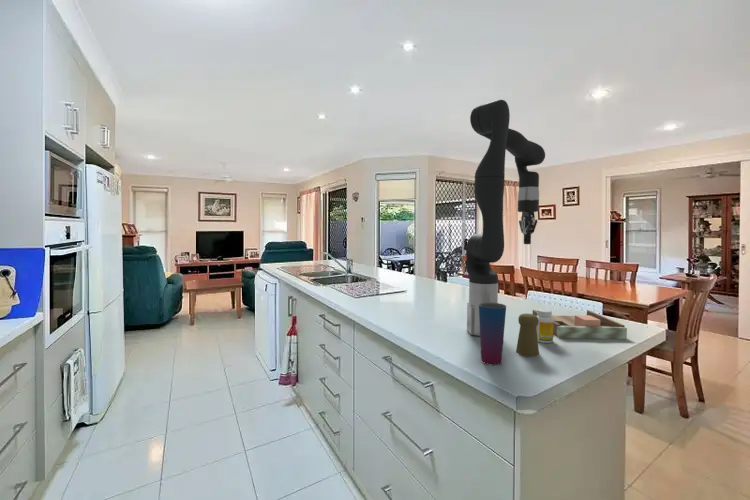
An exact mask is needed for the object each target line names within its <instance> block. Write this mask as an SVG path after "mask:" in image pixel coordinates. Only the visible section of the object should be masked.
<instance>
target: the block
mask: <svg viewBox="0 0 750 500" xmlns="http://www.w3.org/2000/svg"><path fill="white" fill-rule="evenodd" d="M574 316H575V322H574V325H575V326H589V327H600V321H601V320H599V319H597V318H595V317H592V316H590V315H587V314H586V315H584V314H583V315H582V314H579V315H578V314H577V315H574Z"/></svg>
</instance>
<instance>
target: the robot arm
mask: <svg viewBox="0 0 750 500" xmlns="http://www.w3.org/2000/svg"><path fill="white" fill-rule="evenodd" d="M510 117H511V116H510V106H509V104H508V102H507V101H506V100H505V99H498V100H497V99H496V100H493V101H491V102H490V101H489V102H487V103H482V104H480V105H477V106H476V107H474V108H473V109H472V111H471V112H470V117H469V119H470V121H469V122H470V125H471V128H472V130H473V131H474V132H475V133H476V134H478V135H479V136H481V137H483V138H487V139H488V140H490V142H489V146H488V147H487V150H486V152H485V154H484V156H482V157H483V158H481V161H480V162H479V164H478V166H477V168H476V170H475V173H474V183H473V184H474V186H473V192H474V193H473V194H474V198H475V200H476V203H477V206H478V208H479V210H480V212H481V216H482V233H475V234H473V235H471V236H470V237H469V238H468V240H467V243H466V246H465V247H466V248H465V249H466V250H465V255H466V256H465V257H466V258H465V259H466V261H465V262H466V272H467V275H468V302H467V305H466V331H467V332H468V333H469V335H471V336H475V337H476V336H477V337H480V320H479V304H480V303H499V301H498V299H499V297H498V296H499V275H498V273H496V272H495V271H494V270H493V269H492V267H491V263H492V264H493V263H496V262H498V261H500V260H501V259H502V257H503V255H504V251H505V234H504V192H505V178H506V177H505V175H506V173H505V171H506V169H505V167H506V164H505V163H506V151H507V152H508V153H510V154H511V155H512V156H513V157H514V163H515V166H516V170H517V173H518V192H517V212H518V213H521V216H520V220H518V224H519V229H520V231H521V233H522V235H523V245H531V243H532V241H531V240H532V235H533V234H534V232H535V231H536V227H537V224H538V219H536V216H535V213H537V212H539V211H540V188H539V187H540V175H539V173H538V172H537V171H531V170H530V171H529V169H528V167H531V166H538V165H540V164H542V163H543V162H544V161H545V158H546V152H545V149H544V148H543V147H542V145H540V144H538V143H536V142H533V141H532V140H528V138H526V137H525V136H524V135H523V134H522V132H519V131H517V130H515V129H513V128H509V126H510Z"/></svg>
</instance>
